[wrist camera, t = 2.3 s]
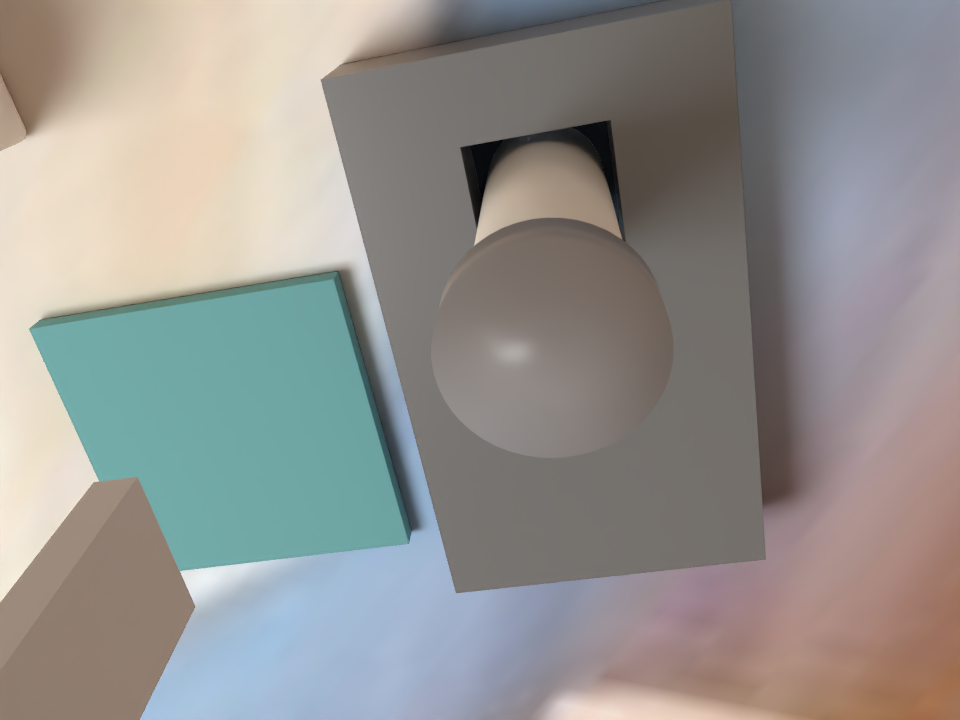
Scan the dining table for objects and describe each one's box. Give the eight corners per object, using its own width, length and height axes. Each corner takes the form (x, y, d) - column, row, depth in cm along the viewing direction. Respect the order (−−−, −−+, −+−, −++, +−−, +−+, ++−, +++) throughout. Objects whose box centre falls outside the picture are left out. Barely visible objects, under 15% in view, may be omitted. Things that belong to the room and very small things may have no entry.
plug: (627, 237, 31) (684, 442, 19) (488, 259, 32) (457, 471, 20) (609, 93, 29) (661, 221, 17) (460, 121, 29) (406, 263, 17)
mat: (411, 531, 37) (408, 543, 37) (149, 563, 39) (142, 575, 38) (338, 271, 32) (333, 279, 31) (39, 320, 34) (28, 328, 33)
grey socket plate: (748, 511, 36) (765, 559, 33) (461, 544, 37) (456, 593, 35) (712, -9, 27) (731, -1, 24) (340, 64, 29) (321, 79, 26)
